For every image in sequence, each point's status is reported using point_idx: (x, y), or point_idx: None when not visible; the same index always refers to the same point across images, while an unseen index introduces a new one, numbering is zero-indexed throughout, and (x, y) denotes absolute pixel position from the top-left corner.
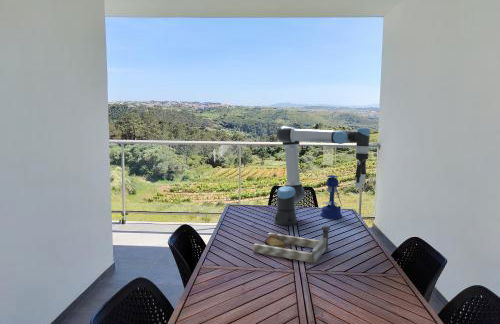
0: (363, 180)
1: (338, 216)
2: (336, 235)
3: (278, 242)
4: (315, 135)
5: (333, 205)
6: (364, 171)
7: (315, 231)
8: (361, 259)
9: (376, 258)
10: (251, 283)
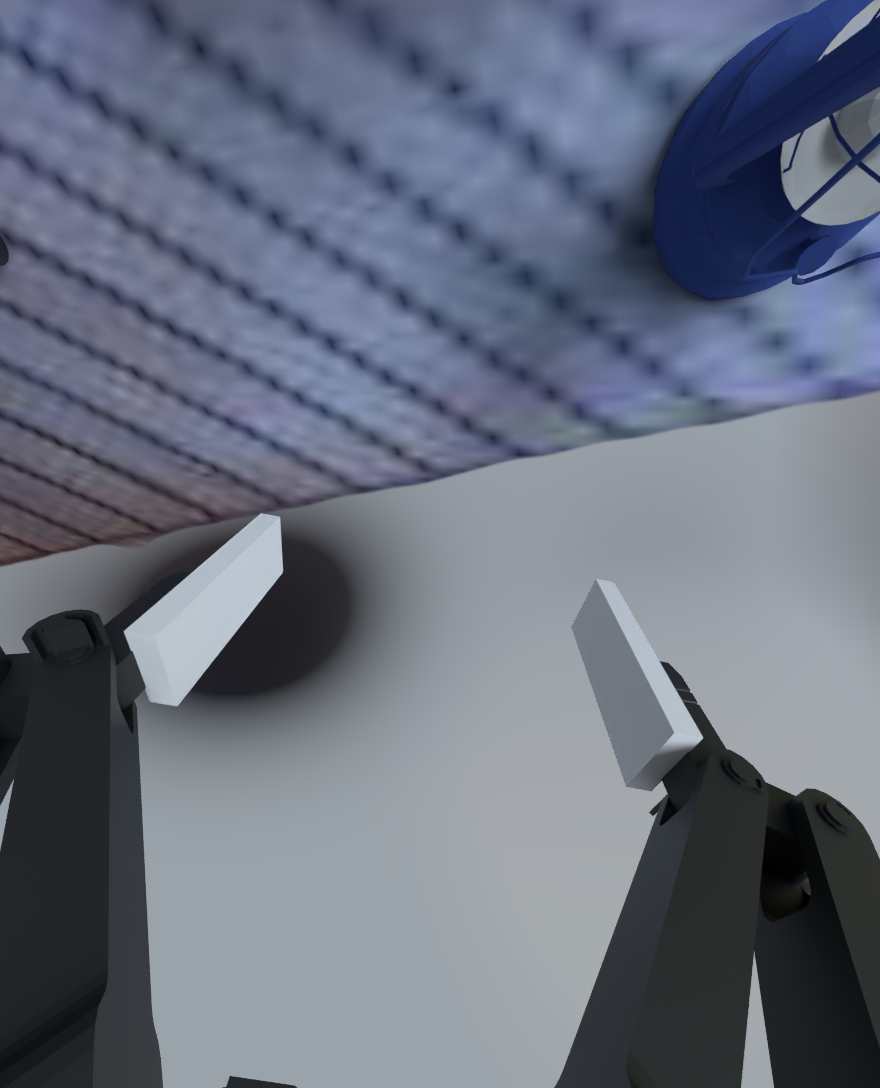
0: (595, 665)
1: (678, 267)
2: (243, 298)
3: None
4: None
5: (714, 167)
6: (635, 880)
7: (240, 92)
8: (7, 449)
9: (67, 504)
10: None
